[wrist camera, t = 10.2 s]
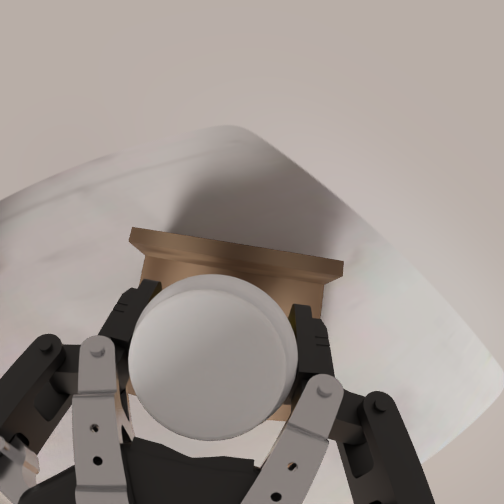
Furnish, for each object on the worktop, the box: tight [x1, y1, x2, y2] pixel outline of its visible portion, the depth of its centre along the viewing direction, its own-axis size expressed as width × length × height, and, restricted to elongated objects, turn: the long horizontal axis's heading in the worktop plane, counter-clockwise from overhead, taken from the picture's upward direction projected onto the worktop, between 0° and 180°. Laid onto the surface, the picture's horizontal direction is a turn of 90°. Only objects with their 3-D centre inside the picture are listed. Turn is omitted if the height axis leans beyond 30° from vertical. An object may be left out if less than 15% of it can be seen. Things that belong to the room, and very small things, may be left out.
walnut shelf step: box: [127, 227, 344, 421], centre depth 20 cm, size 14×12×7 cm
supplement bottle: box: [128, 274, 298, 441], centre depth 11 cm, size 6×6×10 cm
